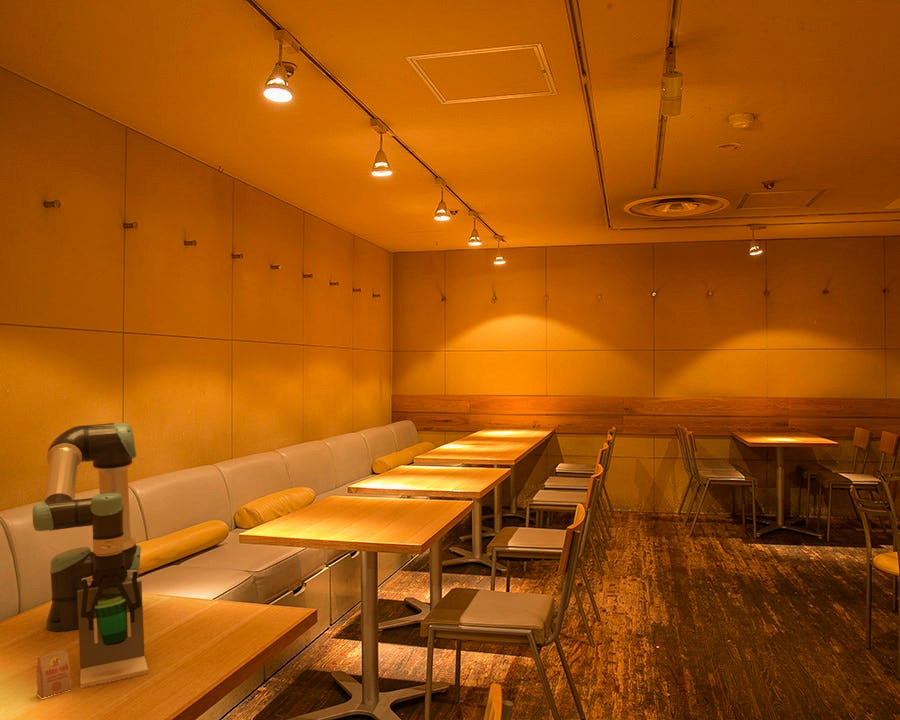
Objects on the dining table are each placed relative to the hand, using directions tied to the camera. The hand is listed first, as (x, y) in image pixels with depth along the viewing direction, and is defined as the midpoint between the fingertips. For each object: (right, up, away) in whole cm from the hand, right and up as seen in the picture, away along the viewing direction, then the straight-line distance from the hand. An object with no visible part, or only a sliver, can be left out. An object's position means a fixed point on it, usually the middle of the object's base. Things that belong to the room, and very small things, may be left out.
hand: (112, 638), depth 194 cm
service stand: (-1, -10, +2) cm, 10 cm away
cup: (0, -1, 0) cm, 1 cm away
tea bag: (-11, -11, -9) cm, 18 cm away
